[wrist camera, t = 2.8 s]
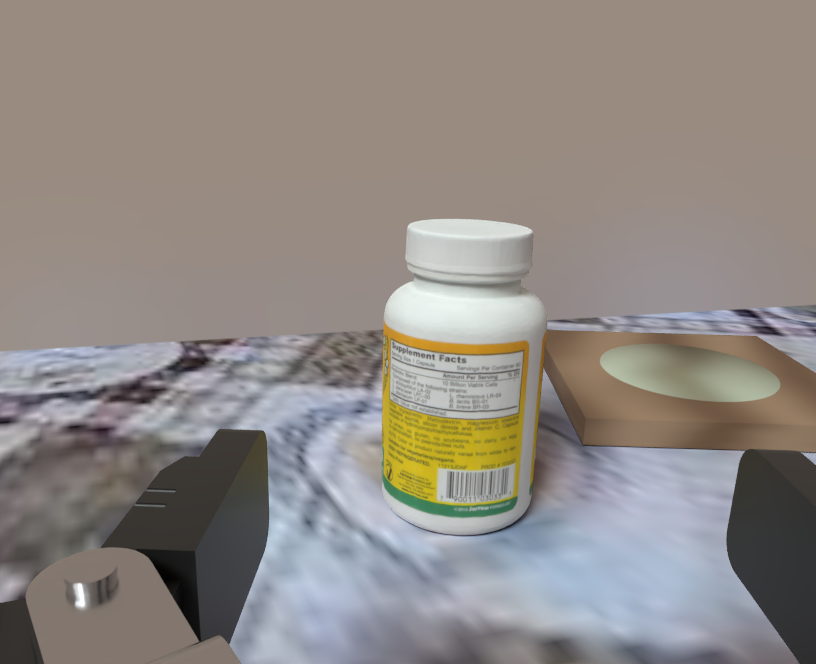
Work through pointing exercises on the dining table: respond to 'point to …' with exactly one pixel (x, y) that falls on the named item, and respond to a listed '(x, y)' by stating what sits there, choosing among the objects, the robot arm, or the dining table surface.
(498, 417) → the supplement bottle
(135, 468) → the dining table surface
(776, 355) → the walnut board
